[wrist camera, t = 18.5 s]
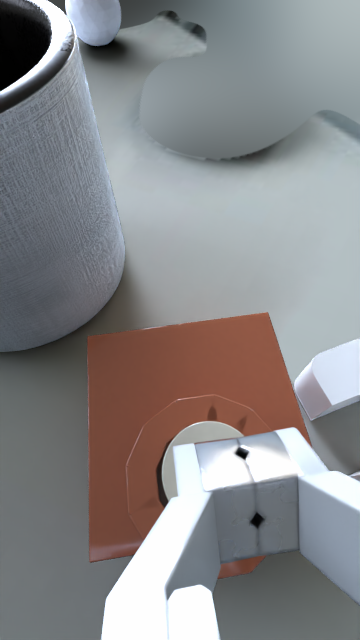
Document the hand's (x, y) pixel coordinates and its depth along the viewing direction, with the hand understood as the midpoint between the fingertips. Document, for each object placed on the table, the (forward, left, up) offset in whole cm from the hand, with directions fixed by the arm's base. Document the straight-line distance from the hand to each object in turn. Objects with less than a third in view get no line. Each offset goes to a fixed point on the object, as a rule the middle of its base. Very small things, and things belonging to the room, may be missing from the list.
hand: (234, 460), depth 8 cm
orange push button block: (+3, 0, -13) cm, 14 cm away
